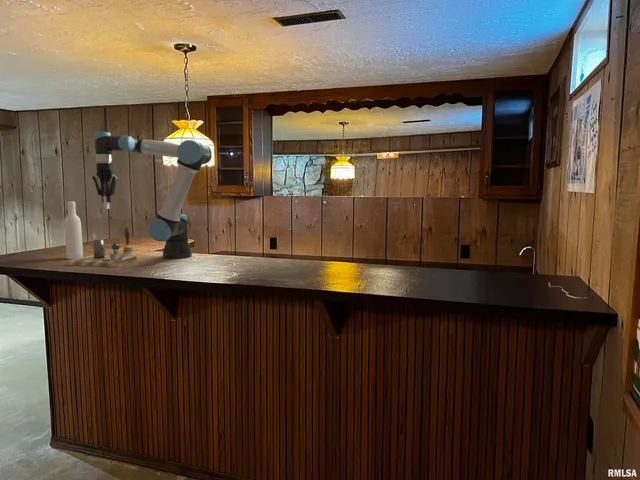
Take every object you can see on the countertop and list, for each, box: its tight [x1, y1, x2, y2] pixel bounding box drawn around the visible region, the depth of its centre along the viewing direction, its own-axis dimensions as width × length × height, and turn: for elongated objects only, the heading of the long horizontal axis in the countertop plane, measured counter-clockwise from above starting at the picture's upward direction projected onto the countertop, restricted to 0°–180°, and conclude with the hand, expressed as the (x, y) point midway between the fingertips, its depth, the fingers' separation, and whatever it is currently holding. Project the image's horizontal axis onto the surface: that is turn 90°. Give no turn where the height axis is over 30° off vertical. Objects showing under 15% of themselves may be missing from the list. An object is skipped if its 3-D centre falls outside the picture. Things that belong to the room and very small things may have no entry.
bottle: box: [63, 200, 84, 260], centre depth 238 cm, size 8×8×30 cm
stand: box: [66, 249, 137, 268], centre depth 227 cm, size 26×18×8 cm
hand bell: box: [121, 226, 138, 257], centre depth 245 cm, size 8×8×16 cm
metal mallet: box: [92, 238, 121, 258], centre depth 228 cm, size 15×5×9 cm, turn 73°
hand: (106, 208), depth 235 cm, fingers closed
